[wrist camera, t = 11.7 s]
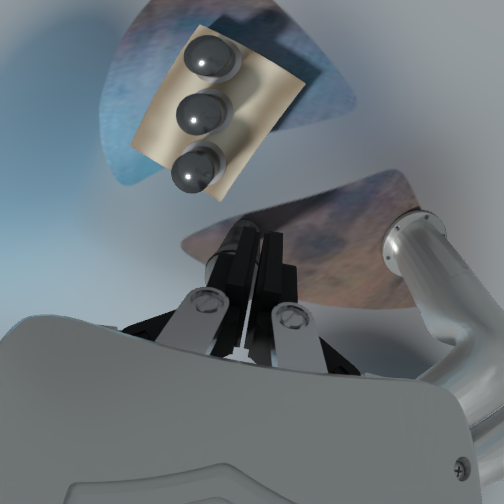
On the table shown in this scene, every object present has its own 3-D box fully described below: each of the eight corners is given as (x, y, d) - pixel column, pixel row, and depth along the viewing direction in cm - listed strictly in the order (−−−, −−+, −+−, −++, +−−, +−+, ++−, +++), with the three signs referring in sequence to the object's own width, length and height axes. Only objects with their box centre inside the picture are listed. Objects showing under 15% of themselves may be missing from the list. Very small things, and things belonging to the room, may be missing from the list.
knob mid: (234, 105, 31) (227, 106, 27) (214, 137, 34) (203, 143, 29) (202, 87, 30) (189, 85, 26) (182, 118, 33) (168, 122, 28)
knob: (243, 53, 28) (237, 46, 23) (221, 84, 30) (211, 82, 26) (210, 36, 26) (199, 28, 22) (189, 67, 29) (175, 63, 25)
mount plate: (304, 85, 32) (306, 83, 29) (224, 194, 41) (220, 202, 39) (205, 29, 28) (199, 24, 26) (139, 142, 38) (129, 146, 35)
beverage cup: (213, 226, 44) (171, 313, 27) (250, 202, 42) (225, 285, 25) (240, 259, 47) (216, 353, 30) (277, 238, 44) (270, 333, 27)
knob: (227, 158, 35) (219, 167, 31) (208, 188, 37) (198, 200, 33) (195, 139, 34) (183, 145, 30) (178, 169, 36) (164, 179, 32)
